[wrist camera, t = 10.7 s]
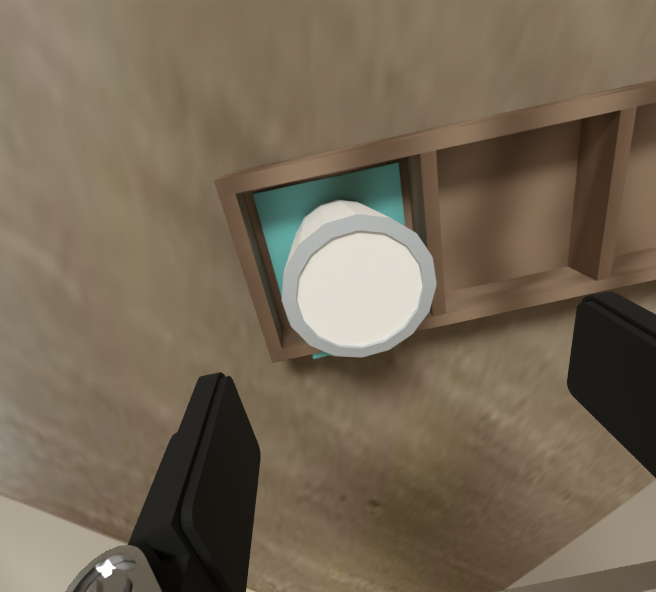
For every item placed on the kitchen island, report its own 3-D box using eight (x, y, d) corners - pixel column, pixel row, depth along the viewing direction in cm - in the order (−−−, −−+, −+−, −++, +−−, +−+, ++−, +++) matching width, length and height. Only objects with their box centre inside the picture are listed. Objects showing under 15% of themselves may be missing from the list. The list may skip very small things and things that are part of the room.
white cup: (413, 209, 21) (465, 242, 15) (371, 308, 24) (400, 372, 18) (302, 171, 20) (308, 191, 13) (270, 281, 22) (262, 341, 16)
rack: (761, 57, 20) (844, 44, 17) (709, 246, 25) (766, 262, 22) (226, 173, 20) (214, 180, 17) (276, 340, 25) (274, 369, 22)
